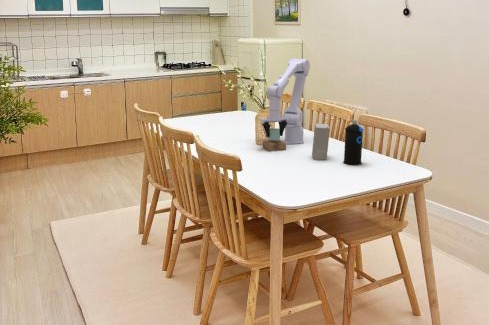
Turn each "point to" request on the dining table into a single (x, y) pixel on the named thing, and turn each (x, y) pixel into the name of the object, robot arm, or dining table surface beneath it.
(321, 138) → the skincare box
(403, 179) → the dining table surface
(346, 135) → the aerosol can
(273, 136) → the teal block
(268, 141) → the walnut block
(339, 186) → the dining table surface
